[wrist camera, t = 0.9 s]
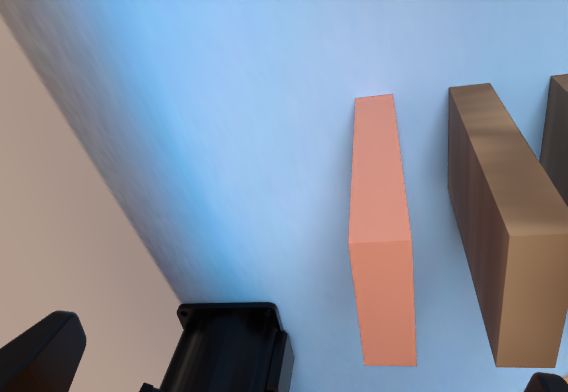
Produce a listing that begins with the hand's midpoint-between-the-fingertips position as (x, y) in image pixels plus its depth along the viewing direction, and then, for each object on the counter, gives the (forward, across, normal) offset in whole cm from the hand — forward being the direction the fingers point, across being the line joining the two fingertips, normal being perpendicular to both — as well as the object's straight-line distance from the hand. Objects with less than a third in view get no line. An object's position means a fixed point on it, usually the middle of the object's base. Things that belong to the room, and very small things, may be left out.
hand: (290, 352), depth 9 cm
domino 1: (+14, -2, +3) cm, 14 cm away
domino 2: (+14, -6, +2) cm, 15 cm away
